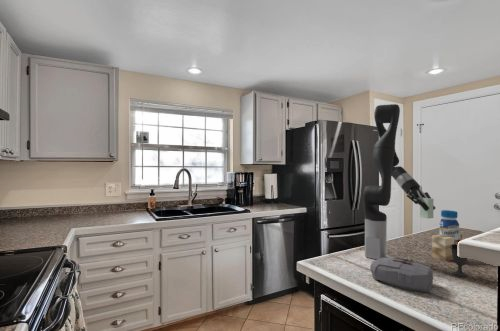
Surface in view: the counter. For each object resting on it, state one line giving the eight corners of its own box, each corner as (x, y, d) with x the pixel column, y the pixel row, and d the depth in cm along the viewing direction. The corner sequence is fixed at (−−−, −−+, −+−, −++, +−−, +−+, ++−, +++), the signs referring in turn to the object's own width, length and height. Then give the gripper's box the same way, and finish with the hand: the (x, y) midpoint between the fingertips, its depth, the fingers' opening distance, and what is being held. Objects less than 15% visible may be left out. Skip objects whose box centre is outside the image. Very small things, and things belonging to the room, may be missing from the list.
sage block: (433, 218, 129) (433, 198, 129) (427, 218, 128) (428, 198, 128) (425, 216, 133) (425, 197, 133) (419, 217, 131) (419, 197, 132)
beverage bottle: (458, 249, 137) (458, 210, 138) (460, 253, 130) (460, 212, 130) (438, 246, 142) (438, 209, 142) (439, 250, 135) (439, 211, 135)
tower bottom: (454, 259, 121) (454, 248, 121) (445, 261, 119) (445, 249, 119) (440, 255, 127) (440, 245, 127) (431, 257, 125) (431, 246, 125)
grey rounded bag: (435, 283, 95) (375, 269, 108) (435, 259, 96) (375, 248, 108) (430, 298, 84) (364, 280, 97) (430, 271, 84) (364, 257, 97)
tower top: (454, 248, 121) (454, 237, 121) (445, 249, 119) (445, 238, 119) (440, 245, 127) (440, 234, 127) (432, 246, 125) (432, 235, 125)
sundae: (466, 272, 106) (466, 234, 106) (474, 278, 99) (474, 238, 100) (446, 270, 108) (446, 233, 108) (453, 276, 101) (453, 237, 102)
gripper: (402, 178, 135) (426, 205, 123) (421, 178, 140) (446, 204, 129) (393, 188, 140) (415, 214, 128) (411, 188, 145) (434, 213, 134)
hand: (430, 209), depth 129 cm, fingers closed on sage block, 4 cm apart
